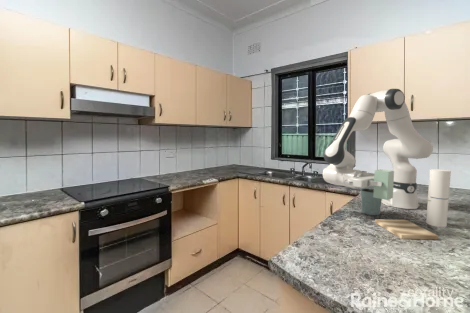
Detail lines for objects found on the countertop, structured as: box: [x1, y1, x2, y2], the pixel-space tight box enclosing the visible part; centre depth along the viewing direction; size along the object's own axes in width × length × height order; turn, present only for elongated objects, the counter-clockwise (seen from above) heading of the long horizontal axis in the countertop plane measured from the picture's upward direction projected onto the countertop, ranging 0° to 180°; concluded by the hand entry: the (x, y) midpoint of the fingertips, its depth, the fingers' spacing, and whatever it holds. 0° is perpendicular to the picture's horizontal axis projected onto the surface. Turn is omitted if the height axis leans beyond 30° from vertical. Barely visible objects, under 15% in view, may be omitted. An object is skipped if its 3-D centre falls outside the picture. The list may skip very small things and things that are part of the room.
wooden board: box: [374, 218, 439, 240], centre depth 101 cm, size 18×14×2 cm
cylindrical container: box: [425, 168, 452, 228], centre depth 107 cm, size 7×7×25 cm
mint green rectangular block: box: [373, 169, 394, 200], centre depth 104 cm, size 6×6×12 cm
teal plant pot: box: [360, 187, 382, 216], centre depth 124 cm, size 10×10×12 cm
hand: (386, 183), depth 103 cm, fingers closed on mint green rectangular block, 5 cm apart
